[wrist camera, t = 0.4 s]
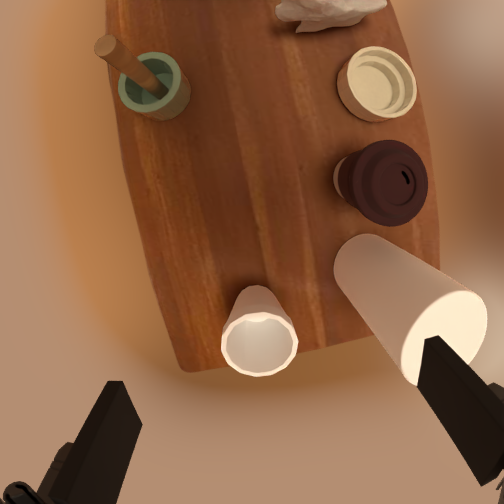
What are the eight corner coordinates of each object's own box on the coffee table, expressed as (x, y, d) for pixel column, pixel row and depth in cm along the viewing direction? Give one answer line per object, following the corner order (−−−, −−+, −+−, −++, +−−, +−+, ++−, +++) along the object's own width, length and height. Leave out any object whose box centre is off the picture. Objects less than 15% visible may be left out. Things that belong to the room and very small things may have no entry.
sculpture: (277, 50, 40) (290, 6, 26) (266, 26, 39) (274, -23, 25) (371, 31, 39) (412, -7, 25) (360, 9, 38) (395, -34, 24)
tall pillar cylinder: (359, 308, 51) (427, 402, 27) (320, 266, 49) (380, 351, 25) (404, 265, 49) (498, 333, 25) (368, 219, 47) (466, 266, 23)
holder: (135, 75, 41) (116, 60, 33) (188, 64, 41) (178, 45, 33) (139, 125, 43) (120, 118, 35) (193, 115, 43) (183, 105, 35)
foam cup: (294, 285, 50) (309, 324, 37) (274, 335, 52) (282, 382, 39) (236, 268, 49) (233, 303, 36) (219, 319, 51) (212, 365, 38)
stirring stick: (154, 87, 41) (94, 38, 20) (168, 84, 41) (116, 31, 20) (155, 101, 41) (93, 59, 21) (170, 98, 41) (116, 51, 21)
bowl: (330, 57, 41) (341, 44, 35) (392, 61, 41) (409, 50, 35) (340, 122, 43) (353, 117, 38) (402, 123, 43) (421, 118, 38)
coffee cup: (323, 210, 47) (356, 229, 32) (323, 144, 44) (357, 135, 30) (383, 211, 47) (433, 229, 32) (384, 148, 44) (435, 143, 30)
